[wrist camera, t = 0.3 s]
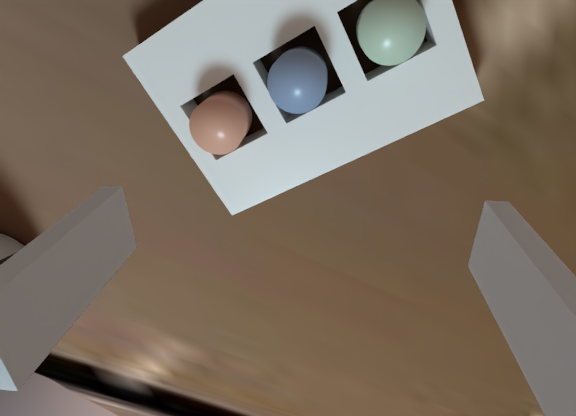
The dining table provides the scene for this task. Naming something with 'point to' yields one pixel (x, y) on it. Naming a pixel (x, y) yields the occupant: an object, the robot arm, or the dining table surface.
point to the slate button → (298, 80)
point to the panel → (313, 124)
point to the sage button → (391, 30)
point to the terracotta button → (220, 122)
